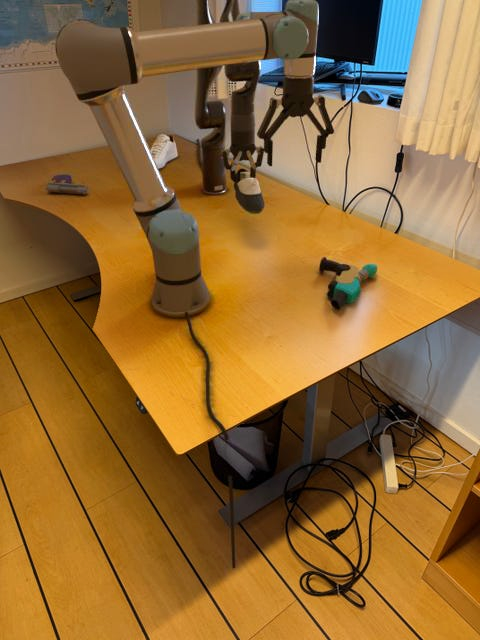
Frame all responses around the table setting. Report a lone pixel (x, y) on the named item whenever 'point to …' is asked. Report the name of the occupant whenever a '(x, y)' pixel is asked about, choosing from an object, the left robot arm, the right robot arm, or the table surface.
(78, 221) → the table surface
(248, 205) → the ballet flat
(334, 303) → the toy gun
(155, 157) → the sneaker
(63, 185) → the toy gun
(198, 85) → the right robot arm
